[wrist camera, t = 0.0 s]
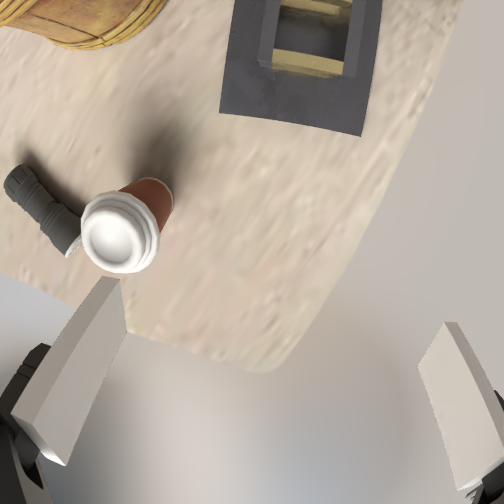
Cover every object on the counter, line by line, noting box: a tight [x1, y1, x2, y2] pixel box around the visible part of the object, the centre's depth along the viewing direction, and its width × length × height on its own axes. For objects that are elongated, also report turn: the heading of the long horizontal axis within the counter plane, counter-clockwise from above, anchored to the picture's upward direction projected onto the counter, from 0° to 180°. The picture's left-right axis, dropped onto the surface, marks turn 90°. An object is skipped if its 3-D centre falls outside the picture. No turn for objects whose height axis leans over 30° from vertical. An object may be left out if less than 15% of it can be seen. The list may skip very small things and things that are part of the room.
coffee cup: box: [81, 177, 174, 273], centre depth 34 cm, size 9×9×12 cm
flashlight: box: [4, 165, 82, 258], centre depth 38 cm, size 15×5×5 cm, turn 44°
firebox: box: [219, 0, 383, 137], centre depth 25 cm, size 20×16×9 cm
